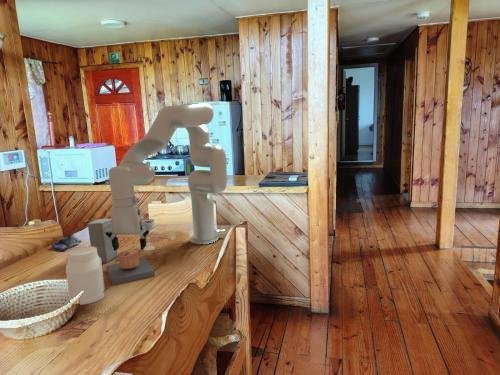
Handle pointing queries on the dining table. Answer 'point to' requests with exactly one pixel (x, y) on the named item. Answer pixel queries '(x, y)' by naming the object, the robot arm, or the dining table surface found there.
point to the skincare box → (101, 240)
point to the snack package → (66, 242)
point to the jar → (85, 274)
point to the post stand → (129, 272)
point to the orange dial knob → (128, 259)
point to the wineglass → (149, 221)
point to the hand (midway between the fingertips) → (129, 248)
